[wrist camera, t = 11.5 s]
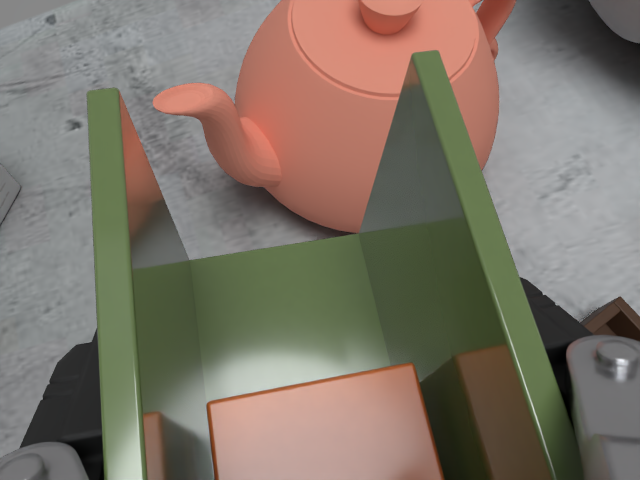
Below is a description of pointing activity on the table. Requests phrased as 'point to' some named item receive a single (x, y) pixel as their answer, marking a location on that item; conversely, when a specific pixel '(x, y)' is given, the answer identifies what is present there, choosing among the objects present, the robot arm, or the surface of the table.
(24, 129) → the table surface
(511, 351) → the green storage bin
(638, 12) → the decorative bowl
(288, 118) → the teapot
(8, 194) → the product box
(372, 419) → the block
